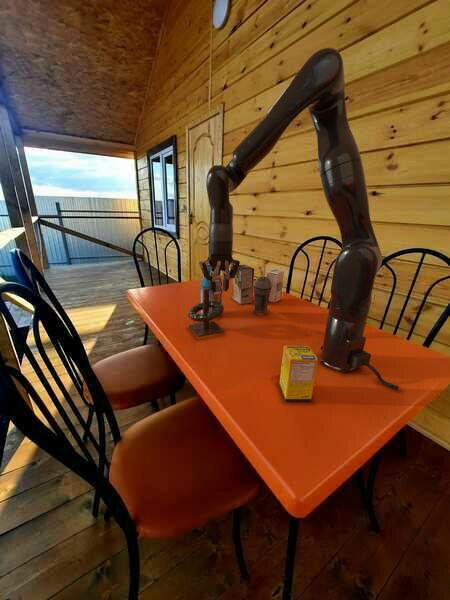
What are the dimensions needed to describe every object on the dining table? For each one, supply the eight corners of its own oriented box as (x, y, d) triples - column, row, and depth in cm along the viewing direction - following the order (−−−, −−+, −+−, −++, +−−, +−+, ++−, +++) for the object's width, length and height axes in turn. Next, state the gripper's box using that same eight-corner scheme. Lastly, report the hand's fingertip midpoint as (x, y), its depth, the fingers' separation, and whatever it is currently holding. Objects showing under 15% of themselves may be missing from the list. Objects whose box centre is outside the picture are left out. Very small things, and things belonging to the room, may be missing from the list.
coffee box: (252, 302, 117) (255, 268, 111) (240, 304, 114) (242, 269, 109) (243, 296, 124) (245, 264, 119) (231, 298, 122) (232, 265, 116)
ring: (230, 313, 82) (229, 307, 81) (197, 327, 78) (195, 320, 77) (215, 303, 92) (213, 297, 91) (184, 314, 88) (183, 308, 87)
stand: (223, 335, 85) (224, 291, 80) (198, 340, 81) (198, 294, 76) (212, 324, 93) (213, 283, 88) (189, 328, 89) (188, 286, 84)
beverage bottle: (198, 320, 96) (198, 268, 90) (201, 311, 104) (201, 263, 98) (220, 321, 96) (222, 269, 89) (221, 312, 104) (223, 264, 97)
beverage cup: (268, 311, 108) (273, 264, 101) (269, 317, 101) (274, 268, 94) (251, 309, 108) (254, 263, 102) (251, 316, 101) (255, 267, 95)
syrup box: (270, 297, 125) (273, 268, 120) (280, 300, 121) (284, 270, 116) (263, 300, 121) (266, 270, 116) (274, 303, 117) (278, 272, 112)
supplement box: (302, 384, 62) (309, 345, 58) (311, 402, 56) (319, 359, 53) (278, 384, 62) (283, 344, 58) (284, 402, 56) (290, 359, 52)
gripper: (204, 240, 73) (203, 297, 78) (246, 239, 79) (243, 292, 84) (195, 237, 79) (195, 290, 84) (235, 236, 85) (232, 286, 91)
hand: (219, 290), depth 84 cm, fingers open, 3 cm apart
